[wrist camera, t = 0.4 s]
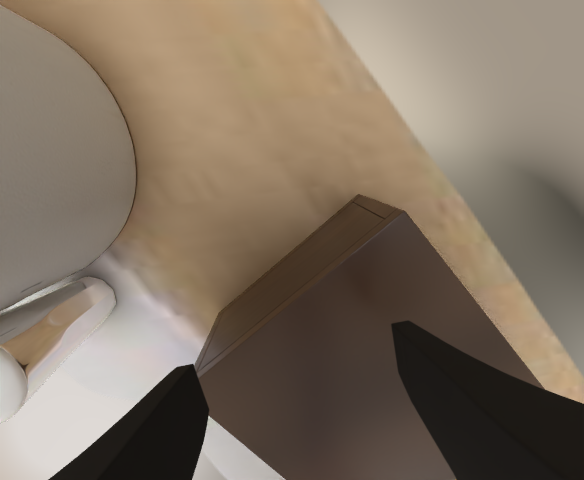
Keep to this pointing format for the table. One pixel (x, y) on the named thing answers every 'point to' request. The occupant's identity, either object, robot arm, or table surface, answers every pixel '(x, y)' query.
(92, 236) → the toilet paper roll
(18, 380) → the milkshake
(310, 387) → the cabinet
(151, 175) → the table surface
